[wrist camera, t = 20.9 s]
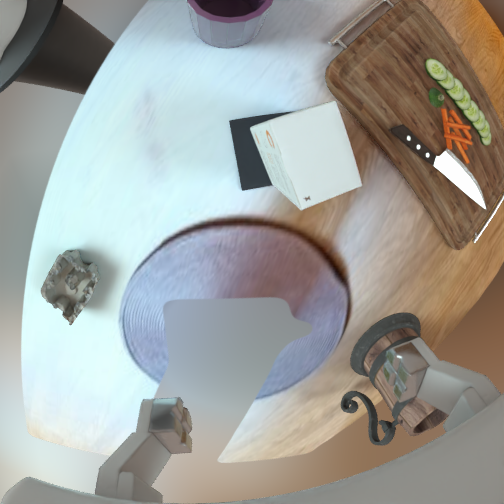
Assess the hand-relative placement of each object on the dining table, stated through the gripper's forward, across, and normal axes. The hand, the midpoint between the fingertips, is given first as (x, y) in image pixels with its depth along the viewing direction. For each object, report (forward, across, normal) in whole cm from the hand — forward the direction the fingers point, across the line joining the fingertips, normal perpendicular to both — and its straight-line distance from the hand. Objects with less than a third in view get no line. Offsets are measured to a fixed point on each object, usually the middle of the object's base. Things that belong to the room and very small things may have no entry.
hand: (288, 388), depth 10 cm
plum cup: (+29, -3, -24) cm, 38 cm away
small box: (+29, -7, -6) cm, 30 cm away
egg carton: (+29, +27, +6) cm, 40 cm away
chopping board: (+29, -36, -8) cm, 47 cm away
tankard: (+29, -22, +36) cm, 51 cm away
